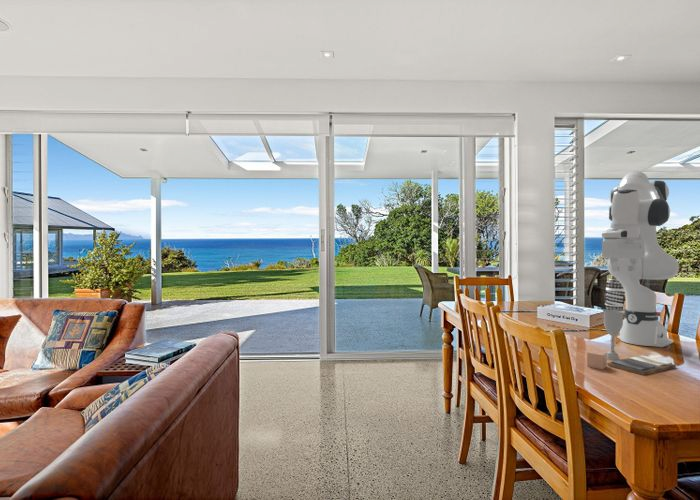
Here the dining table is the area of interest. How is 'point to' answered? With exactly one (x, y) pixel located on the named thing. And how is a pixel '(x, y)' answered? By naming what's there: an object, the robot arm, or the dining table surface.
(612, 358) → the chalice
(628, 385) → the dining table surface
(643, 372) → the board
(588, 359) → the terracotta cube
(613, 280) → the decorative candle
